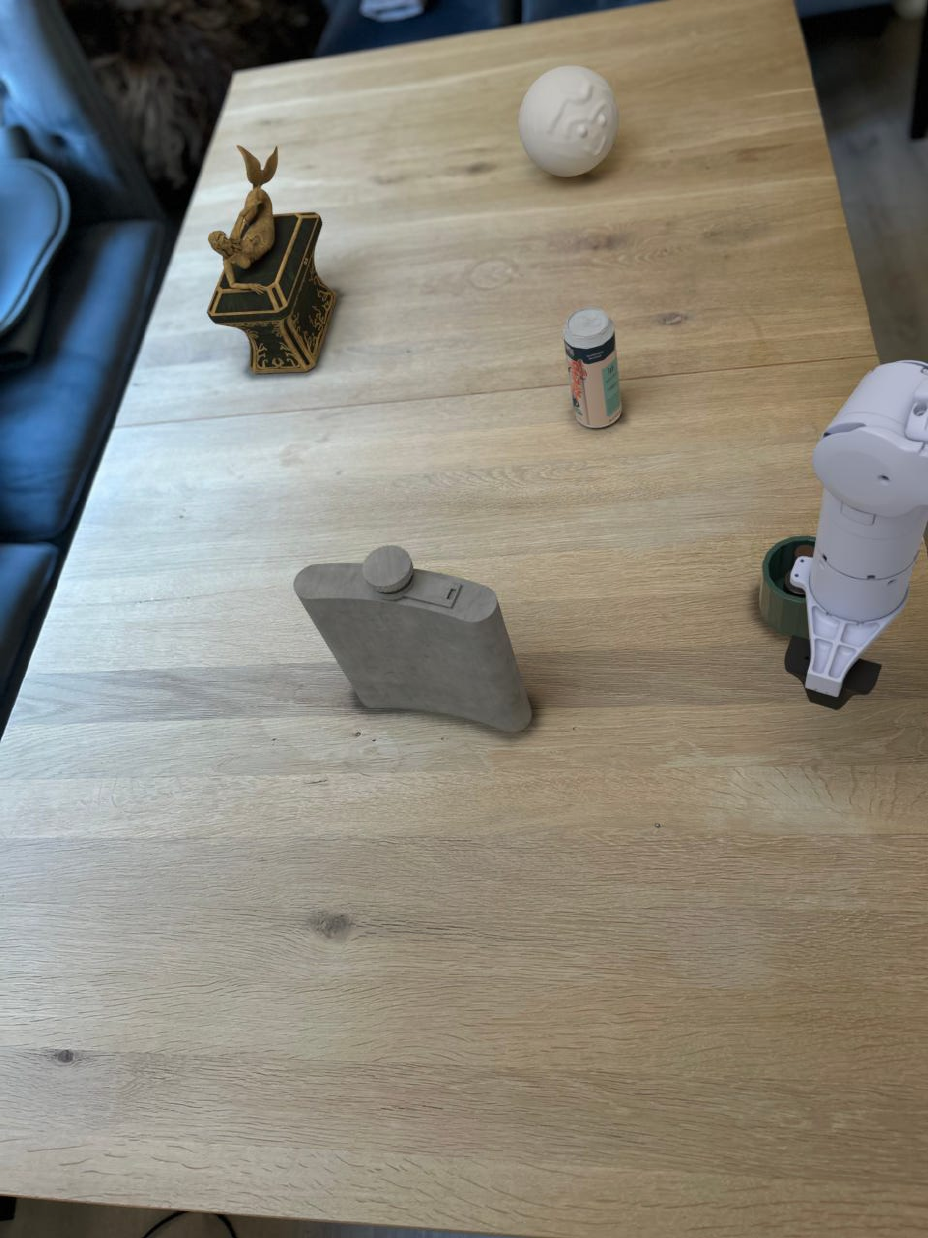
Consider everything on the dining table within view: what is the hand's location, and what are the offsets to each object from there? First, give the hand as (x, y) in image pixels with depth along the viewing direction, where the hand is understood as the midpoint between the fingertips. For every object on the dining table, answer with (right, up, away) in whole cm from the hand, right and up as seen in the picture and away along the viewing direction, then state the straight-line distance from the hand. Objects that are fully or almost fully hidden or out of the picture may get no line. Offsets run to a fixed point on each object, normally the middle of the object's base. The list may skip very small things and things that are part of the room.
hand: (840, 656), depth 70 cm
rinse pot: (+2, +4, +15) cm, 15 cm away
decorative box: (-46, +38, +49) cm, 77 cm away
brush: (+2, +4, +14) cm, 15 cm away
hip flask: (-28, -4, +17) cm, 33 cm away
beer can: (-13, +23, +31) cm, 41 cm away
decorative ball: (-13, +59, +54) cm, 81 cm away
